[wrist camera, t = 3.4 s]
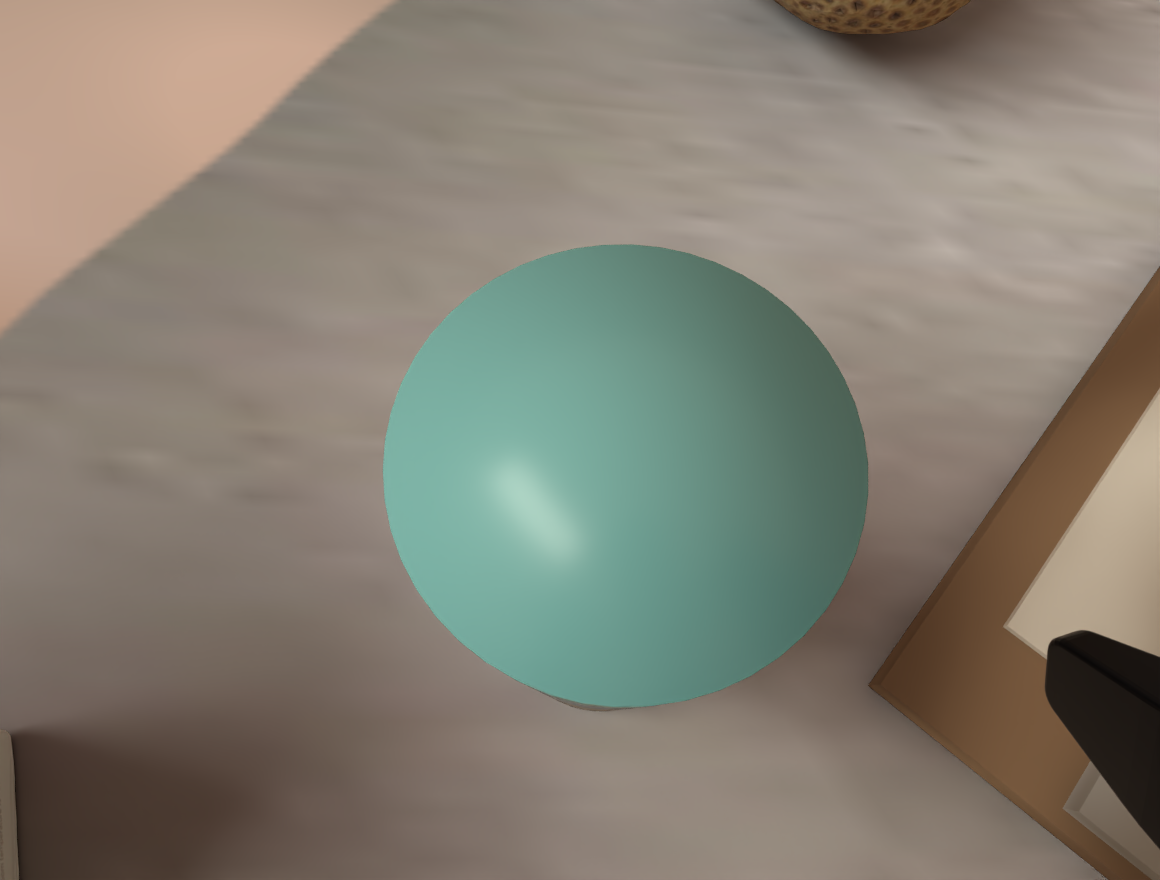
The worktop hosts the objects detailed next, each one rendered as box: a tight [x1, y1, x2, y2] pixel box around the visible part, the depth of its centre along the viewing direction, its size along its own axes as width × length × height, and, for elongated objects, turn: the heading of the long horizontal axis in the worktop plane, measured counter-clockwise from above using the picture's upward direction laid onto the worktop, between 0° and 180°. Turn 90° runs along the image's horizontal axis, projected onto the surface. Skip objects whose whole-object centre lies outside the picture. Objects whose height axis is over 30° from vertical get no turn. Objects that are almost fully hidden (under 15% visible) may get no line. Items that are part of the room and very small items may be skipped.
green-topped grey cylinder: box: [383, 245, 868, 711], centre depth 13 cm, size 4×4×13 cm
